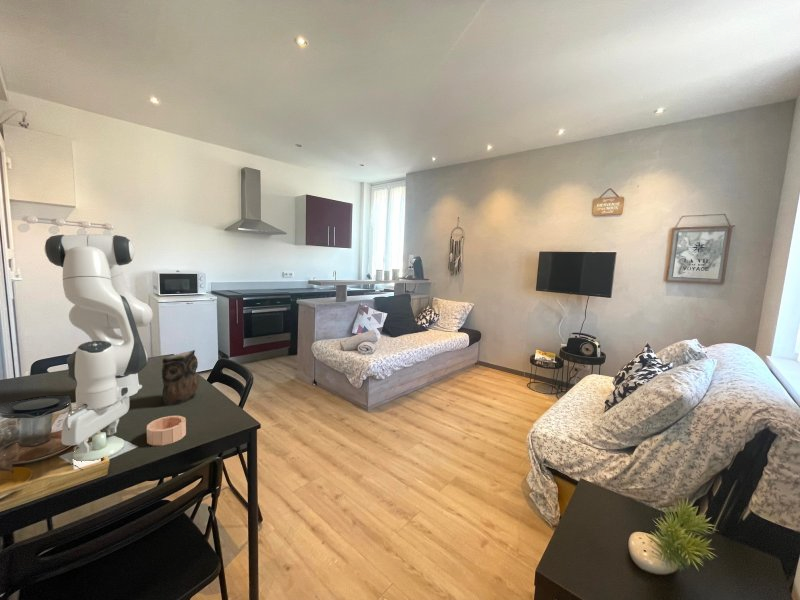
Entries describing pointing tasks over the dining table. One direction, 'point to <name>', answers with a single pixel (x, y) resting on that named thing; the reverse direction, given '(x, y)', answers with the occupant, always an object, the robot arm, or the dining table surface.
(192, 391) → the owl
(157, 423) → the bowl
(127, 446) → the mat
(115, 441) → the lid
